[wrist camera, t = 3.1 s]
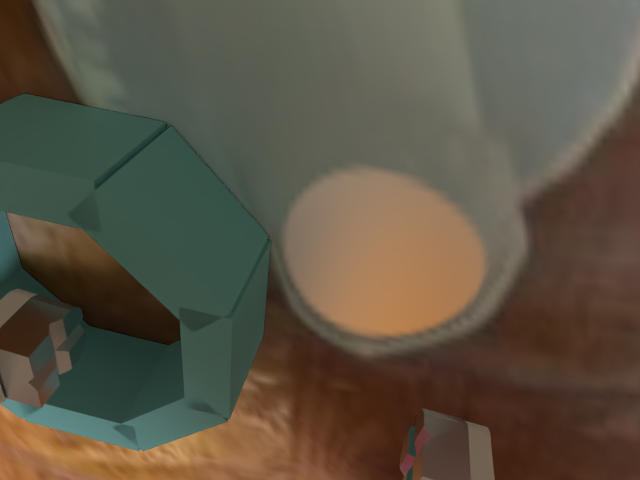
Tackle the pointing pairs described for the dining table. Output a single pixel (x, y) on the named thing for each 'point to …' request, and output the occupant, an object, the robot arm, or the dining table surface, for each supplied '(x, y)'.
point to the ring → (138, 267)
